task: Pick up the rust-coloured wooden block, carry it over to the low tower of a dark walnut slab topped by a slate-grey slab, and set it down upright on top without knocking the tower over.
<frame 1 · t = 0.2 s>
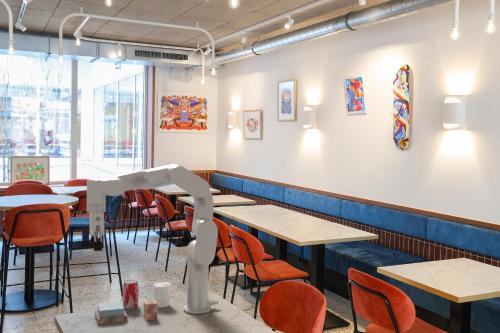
hand: (96, 248, 218), 31 cm above the table, tool pointing down, fingers open, 9 cm apart
top block: (110, 312, 223), point 2 cm above the table, touching base block
white cup: (161, 305, 241), on the table
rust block: (150, 318, 224), on the table
soda can: (130, 307, 238), on the table
base block: (111, 319, 223), on the table, touching top block
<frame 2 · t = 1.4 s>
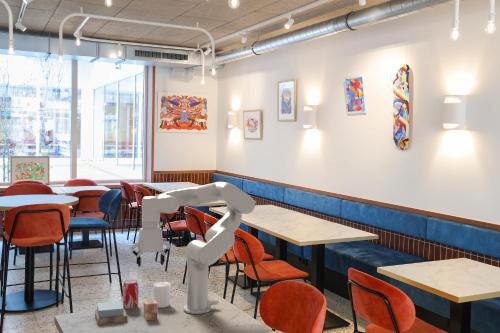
hand: (150, 264, 223), 23 cm above the table, tool pointing down, fingers open, 9 cm apart
nothing on the table moved.
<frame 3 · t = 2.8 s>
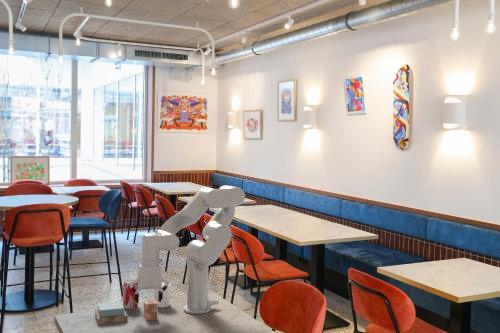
hand: (148, 301, 224), 7 cm above the table, tool pointing down, fingers open, 9 cm apart
nothing on the table moved.
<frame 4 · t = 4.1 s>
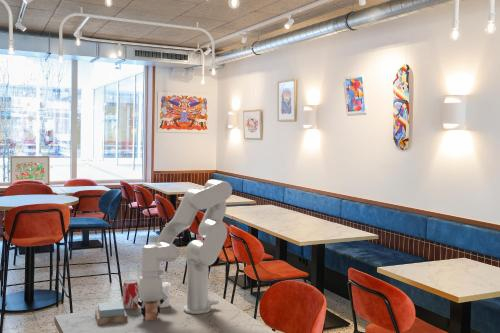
hand: (150, 315, 224), 1 cm above the table, tool pointing down, fingers closed on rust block, 5 cm apart
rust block: (150, 318, 224), on the table, touching gripper
everything else where it was.
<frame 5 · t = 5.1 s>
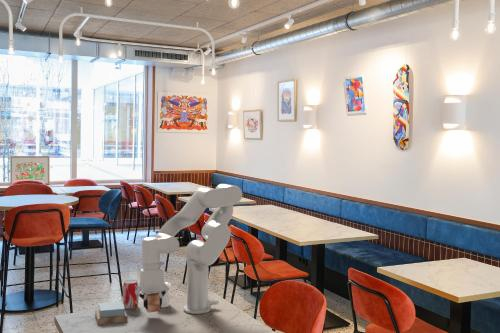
hand: (152, 307, 225), 5 cm above the table, tool pointing down, fingers closed on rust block, 5 cm apart
top block: (111, 312, 223), point 2 cm above the table
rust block: (153, 310, 225), point 3 cm above the table, touching gripper
base block: (111, 319, 223), on the table
everything else where it was.
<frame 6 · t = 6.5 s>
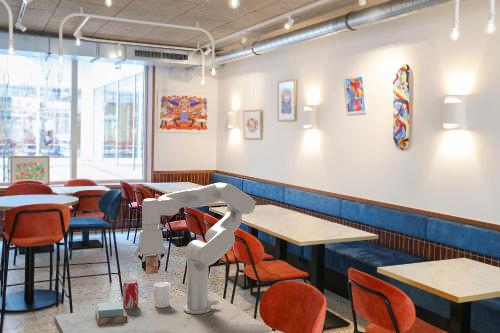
hand: (151, 269, 223), 21 cm above the table, tool pointing down, fingers closed on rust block, 5 cm apart
top block: (110, 312, 223), point 2 cm above the table, touching base block
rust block: (151, 272, 223), point 20 cm above the table, touching gripper
base block: (111, 319, 223), on the table, touching top block
everything else where it was.
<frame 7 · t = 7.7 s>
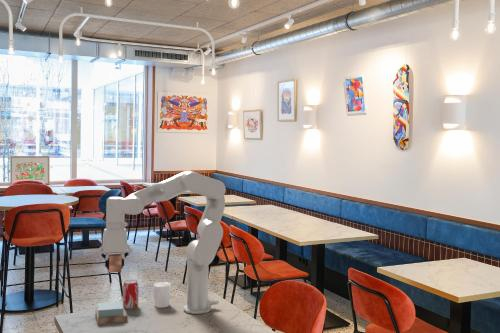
hand: (114, 267, 222), 22 cm above the table, tool pointing down, fingers closed on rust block, 5 cm apart
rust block: (114, 270, 222), point 21 cm above the table, touching gripper
everything else where it was.
when the fingers open (8 cm above the table, at t = 11.4 s): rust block drops 1 cm, resting on top block.
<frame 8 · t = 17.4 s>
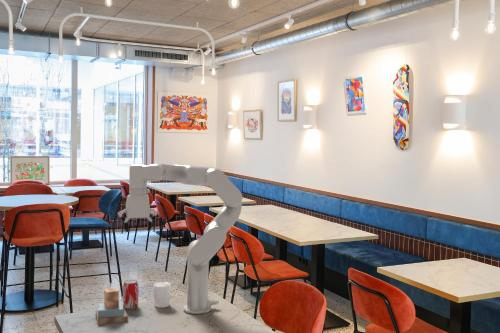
hand: (137, 230, 230), 36 cm above the table, tool pointing down, fingers open, 9 cm apart
top block: (111, 313, 223), point 2 cm above the table, touching base block, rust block
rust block: (111, 306, 223), point 5 cm above the table, touching top block
everything else where it was.
at the end: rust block 0.2 cm off-centre on the top block, point 3.0 cm above the top block's base; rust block tilted 0°; top block moved 0.9 cm from its start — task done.
